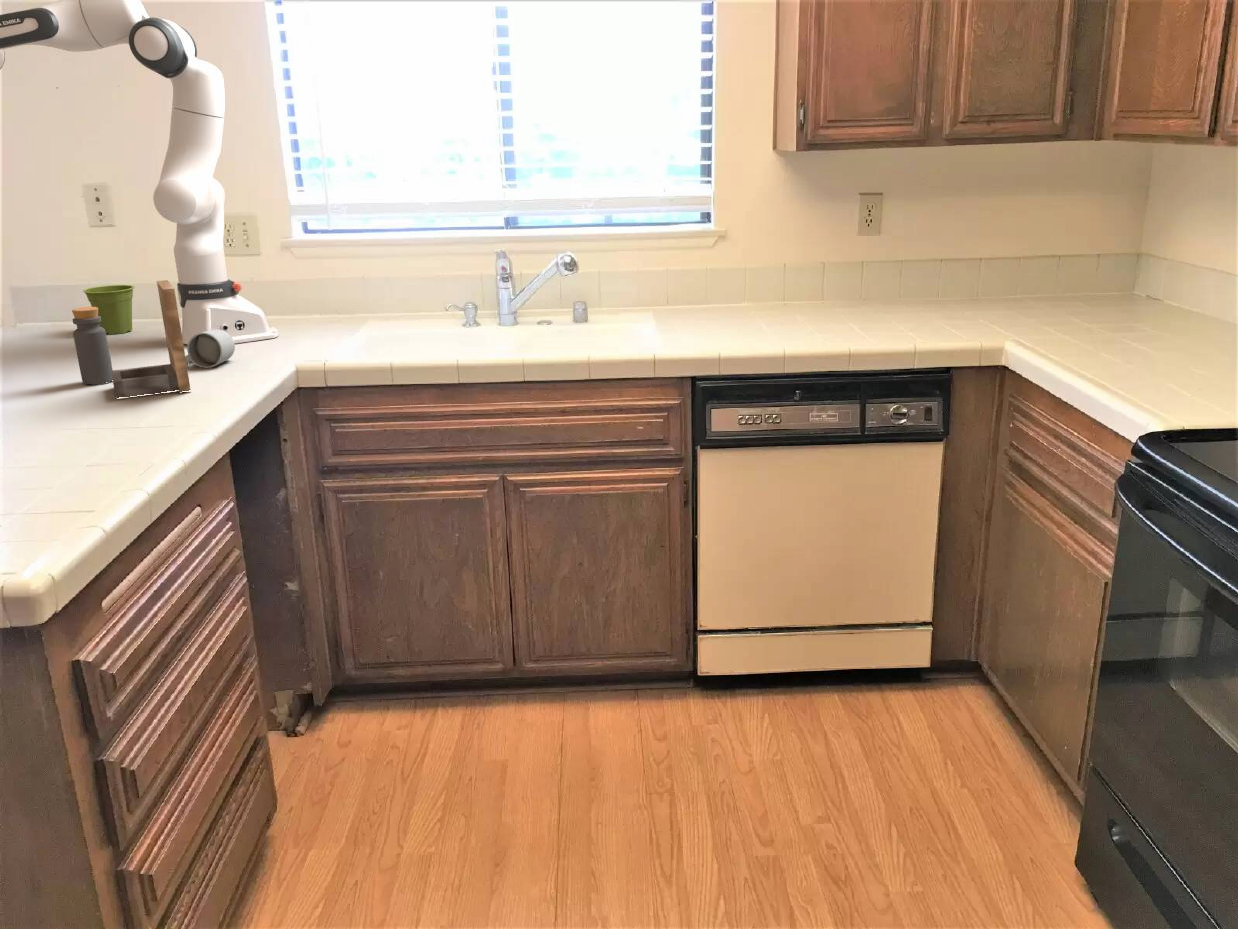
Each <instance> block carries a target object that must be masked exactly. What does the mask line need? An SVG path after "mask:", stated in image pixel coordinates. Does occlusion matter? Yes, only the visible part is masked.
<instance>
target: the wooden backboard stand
mask: <svg viewBox="0 0 1238 929" xmlns="http://www.w3.org/2000/svg"><path fill="white" fill-rule="evenodd" d="M156 285H157V291H158V297H159V298H158V299H159V302H160V303H159V304H160V309H161V314H162V320H163V327H164V328H163V329H164V333H165V339H166V344H167V351H168V352H167V353H168V358H169V363H168V364H159V365H151V366H139V367H131V368H130V367H129V368H123V369H122V368H121V369H115V370H114V369H113V370H112V371H111V374H112V380H113V382H112V385H113V390H114V394H116V395H115V399H116V398H119V397H130V396H137V395H144V394H155V393H161V392H167V391H175V390H179V392H182V391H189V390H192V389H191V383H190V377H189V372H188V367H187V366H188V364H186V358H185V356H186V352H185V347H184V344H183V339H182V328H181V327H182V326H181V322H180V316H179V309H178V303H177V298H176V291H175V287H173V285H172V284H171V283H170V282H169V280H168V279H164V280H156ZM179 392H178V393H179Z"/></svg>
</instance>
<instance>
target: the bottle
mask: <svg viewBox="0 0 1238 929" xmlns="http://www.w3.org/2000/svg"><path fill="white" fill-rule="evenodd" d="M71 312H72V315H73V317H74V318H72V323H73V325H75V326H76V329H75V330H74V331H73V332H72V335H73V339H74V346H75V352H76V355H77V356H76V357H77V361H78V367H79V371H80V377H81V382H82V384H83V385H84V384H101V385H104V384H103V383H106V382H110V381H112V374H111V371H112V370H114V369H113V364H112V359H111V353H110V348H109V343H108V338H107V334H106V332H105V329H104V328H102V327H100V326H99V322H101V317H100V316H98V308H97V307H92V306H84V307H76V308H73V309H71ZM110 383H111V382H110ZM106 384H107V383H106Z"/></svg>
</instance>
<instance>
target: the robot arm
mask: <svg viewBox="0 0 1238 929" xmlns="http://www.w3.org/2000/svg"><path fill="white" fill-rule="evenodd" d="M124 44H125V45H128V46H129V49H130V52H131V53H132V55H133V57H134V58H135V59H136V61H138V62H139V63H140V64H141V65H142V66H143V67H146V68H147V69H148V70H151V71H152V72H154V73H157V74H158V75H160V76H162V77H164V78H166V79H169V80H170V82H171V84H172V104H171V116H170V127H169V128H170V129H169V137H168V138H169V140H168V144H167V149H166V154H165V157H164V161H163V164H162V168H161V172H160V177H159V181H158V183H157V185H156V187H155V189H154V191H153V198H152V200H153V206H154V208H155V210H156V211H157V213H158V214H159V215H161V217H162V218H164V219H165V220H166V221H169V222H172V223H175V224H176V233H175V234H176V236H175V243H174V246H173V254H174V262H175V267H176V268H175V269H176V274H177V278H178V279H177V280H178V282H177V284H176V285H177V288H176V290H177V296H178V303H179V305H180V308H181V313H182V320H181V321H182V322H181V324H182V326H181V327H182V328H181V333H182V339H183V345H188V343H189V340H190V339H191V338H192V337H193V336H194V335H195V334H197V333H201V332H205V331H209V330H215V329H217V330H223V331H225V332H227V333H228V334H229V335H230V336H231V337H232V338H233V340H234V343H235V344H240V343H242V344H243V343H249V342H254V341H261V340H268V339H275V338H277V337H278V336H279V335H280V333H279V331H278V328H276V327H273V326H269V322H268V318H267V316H266V314H265V312H264V310H263V309H262V308H260V307H259V306H257V305H256V304H254V303H253V302H251V301H250V300H248V299H246V298H245V297H243V296H241V295H239V293H240V292H242V290H243V286H242V284H241V283H240V282H235V281H234V280H231V279H229V278H228V270H227V262H226V256H225V244H224V235H225V234H224V233H225V204H226V200H227V198H226V197H227V196H226V191H225V189H224V187H223V185H222V184H221V183H220V182H219V181H218V180H217V179H216V178H214V173H215V170H216V165H217V163H218V161H219V158H220V156H221V153H222V146H223V145H222V144H223V136H224V135H223V134H224V126H225V125H224V124H225V112H226V111H225V110H226V94H225V82H224V77H223V76H224V75H223V74H222V72H221V70H220V69H219V68H218V67H216V66H215V65H213V64H212V63H210V62H208V61H205V60H201V59H198V58H197V56H198V50H197V44H196V42H195V39H194V38H193V36H192V35H191V33H190V32H189V31H187V29H185V28H184V27H182V26H180V25H179V24H177V23H175V22H173V21H171V20H169V19H163V18H159V17H150V16H149V15H148V13H147V11H146V9H145V7H144V5H143V3H142V2H141V1H140V0H57V1H53V2H50V3H47V4H43V5H39V6H36V7H32V8H29V9H25V10H19V11H14V12H8V13H3V14H0V70H1V69H2V68H3V66H4V64H5V62H6V54H5V50H6V49H11V48H16V47H21V46H31V45H32V46H33V45H34V46H45V47H50V48H55V49H59V50H62V51H67V52H72V53H73V52H74V53H77V52H79V53H80V52H81V53H82V52H93V51H97V50H102V49H106V48H110V47H114V46H118V45H124Z"/></svg>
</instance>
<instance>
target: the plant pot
mask: <svg viewBox="0 0 1238 929" xmlns="http://www.w3.org/2000/svg"><path fill="white" fill-rule="evenodd" d="M134 289H135V286H134V285H131V284H112V285H111V284H109V285H101V286H93V287H89V288H85V289H83V290H82V292H83V293H84V294H85V295H86V297H87V301H88V302H89V304H90V307H97V308H98V316H100V317H101V322H99V326H100V327H102V328H104V329H105V332H106V335H107V334H109V335H119V334H125V333H127V332H132V331H133V297H134V296H133V294H134Z"/></svg>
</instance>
